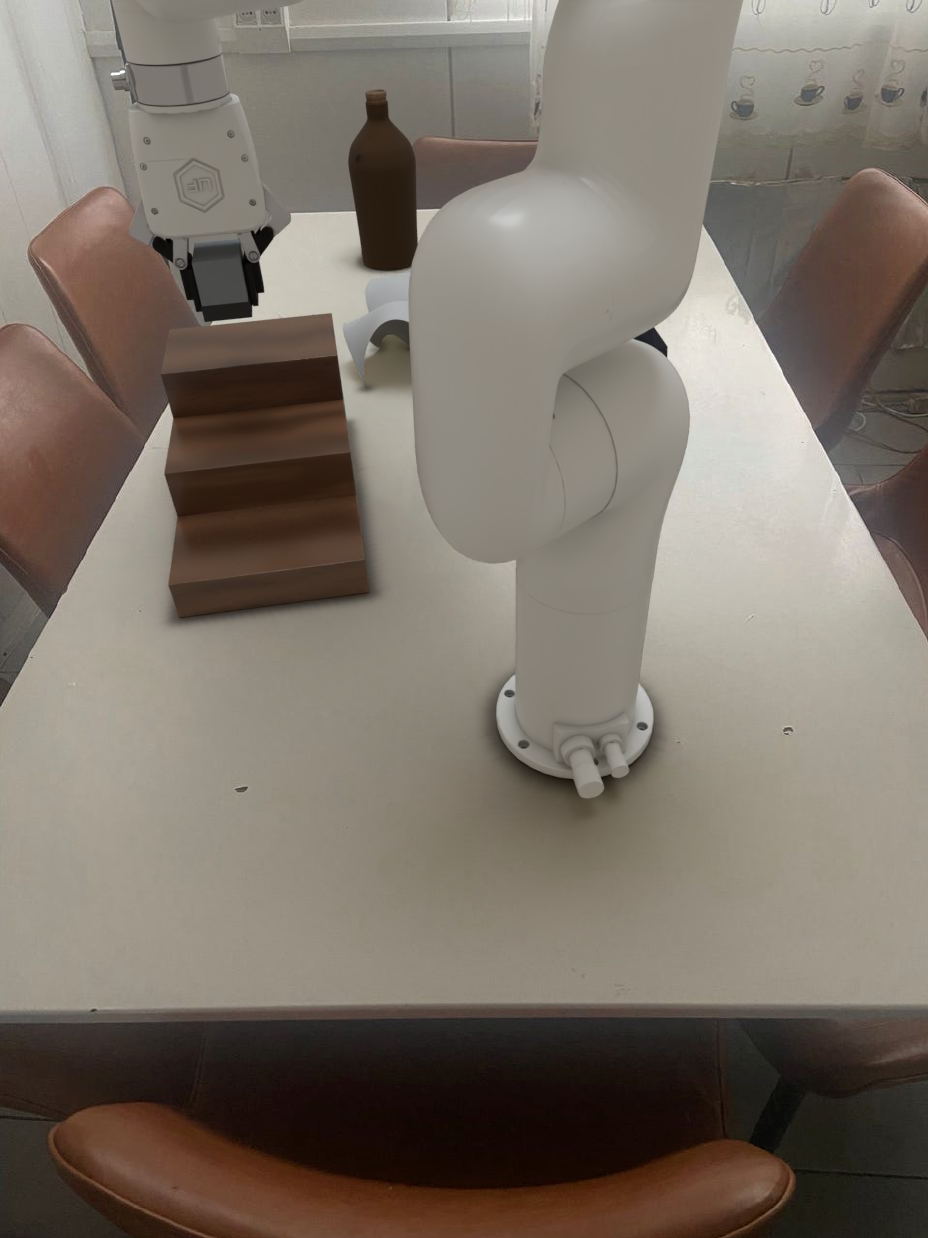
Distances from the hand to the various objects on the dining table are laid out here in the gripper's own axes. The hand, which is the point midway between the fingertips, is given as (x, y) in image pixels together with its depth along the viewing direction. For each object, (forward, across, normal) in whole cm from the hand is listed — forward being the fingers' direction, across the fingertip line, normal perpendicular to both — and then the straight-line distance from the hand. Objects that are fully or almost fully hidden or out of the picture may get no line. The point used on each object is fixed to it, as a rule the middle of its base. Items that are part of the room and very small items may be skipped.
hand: (227, 301), depth 84 cm
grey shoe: (+1, 0, +2) cm, 2 cm away
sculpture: (+22, +22, +32) cm, 45 cm away
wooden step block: (+22, +1, -3) cm, 22 cm away
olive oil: (+22, +21, +67) cm, 74 cm away
